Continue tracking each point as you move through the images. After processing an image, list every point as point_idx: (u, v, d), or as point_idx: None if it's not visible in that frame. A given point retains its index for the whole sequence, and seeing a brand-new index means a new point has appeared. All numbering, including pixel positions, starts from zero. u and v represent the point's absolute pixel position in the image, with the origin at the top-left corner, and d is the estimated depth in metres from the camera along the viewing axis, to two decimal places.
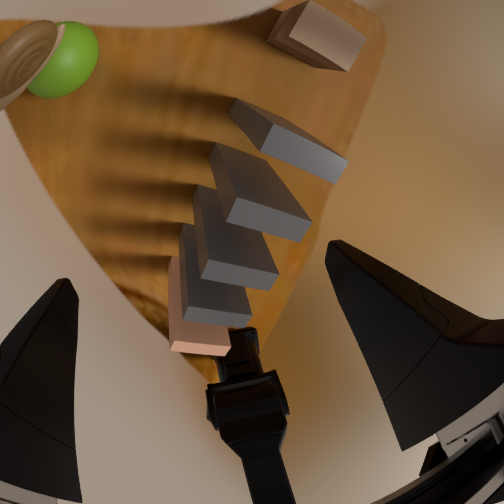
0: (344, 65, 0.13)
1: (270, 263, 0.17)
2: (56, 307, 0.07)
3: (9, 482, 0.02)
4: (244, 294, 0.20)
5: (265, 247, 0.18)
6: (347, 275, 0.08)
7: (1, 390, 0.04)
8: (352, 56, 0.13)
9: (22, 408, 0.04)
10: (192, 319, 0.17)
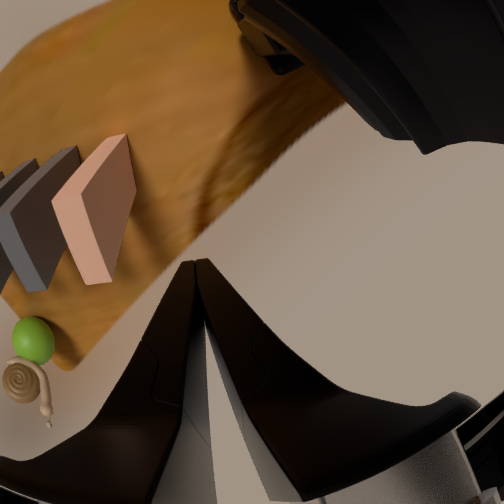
0: None
1: None
2: (198, 290, 0.07)
3: None
4: None
5: None
6: (200, 300, 0.07)
7: (176, 394, 0.04)
8: None
9: (192, 411, 0.05)
10: (38, 281, 0.10)
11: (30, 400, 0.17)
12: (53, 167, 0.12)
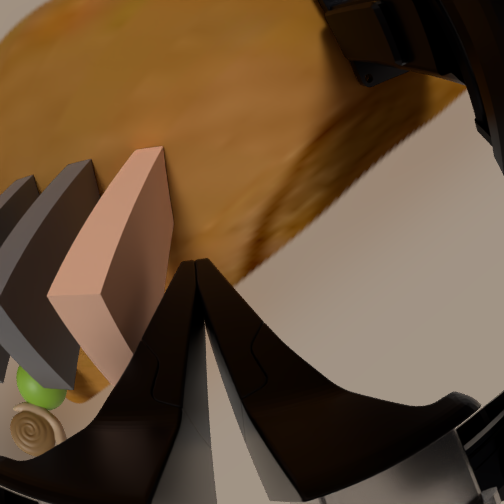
0: None
1: None
2: (197, 290, 0.07)
3: None
4: None
5: None
6: (200, 300, 0.07)
7: (176, 394, 0.04)
8: None
9: (192, 412, 0.05)
10: (60, 381, 0.07)
11: None
12: (60, 198, 0.08)
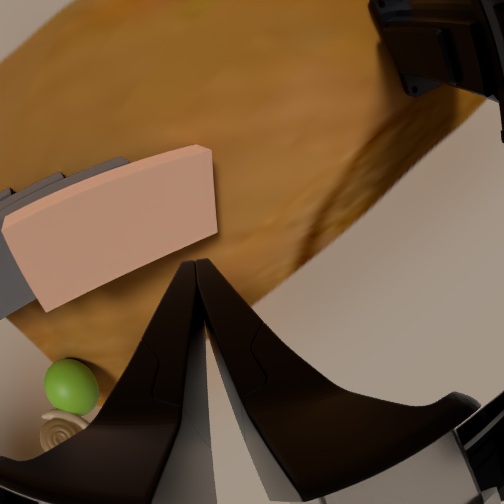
0: None
1: None
2: (198, 290, 0.07)
3: None
4: None
5: None
6: (200, 300, 0.07)
7: (176, 394, 0.04)
8: None
9: (192, 412, 0.05)
10: None
11: None
12: None
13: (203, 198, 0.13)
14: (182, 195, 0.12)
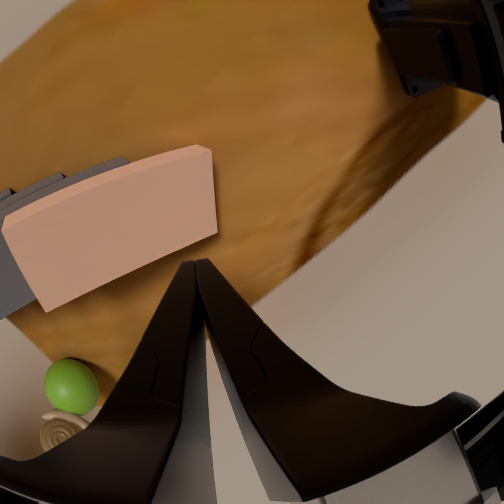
0: None
1: None
2: (197, 290, 0.07)
3: None
4: None
5: None
6: (200, 300, 0.07)
7: (176, 394, 0.04)
8: None
9: (192, 411, 0.05)
10: None
11: None
12: None
13: (203, 198, 0.13)
14: (182, 195, 0.12)
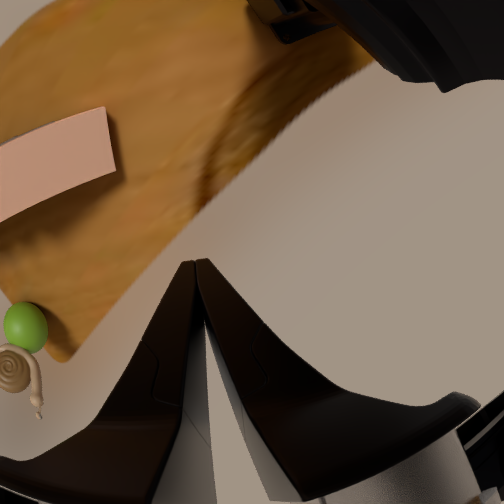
0: None
1: None
2: (198, 290, 0.07)
3: None
4: None
5: None
6: (200, 300, 0.07)
7: (176, 394, 0.04)
8: None
9: (192, 412, 0.05)
10: None
11: (20, 389, 0.16)
12: None
13: (101, 142, 0.15)
14: (84, 140, 0.14)
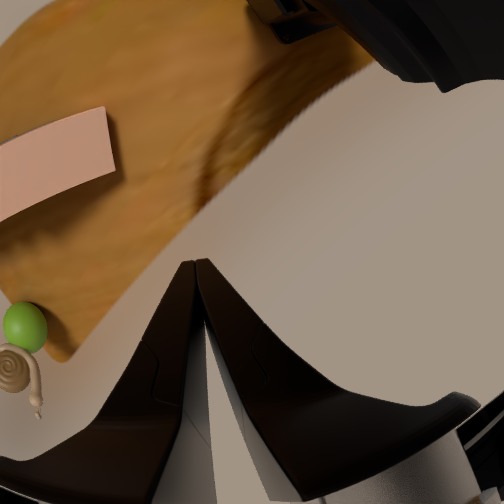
0: None
1: None
2: (197, 290, 0.07)
3: None
4: None
5: None
6: (200, 300, 0.07)
7: (176, 394, 0.04)
8: None
9: (192, 411, 0.05)
10: None
11: (19, 389, 0.15)
12: None
13: (100, 142, 0.15)
14: (84, 140, 0.14)
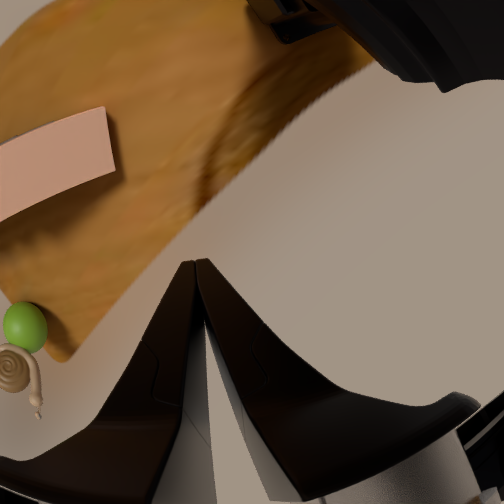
0: None
1: None
2: (197, 290, 0.07)
3: None
4: None
5: None
6: (200, 300, 0.07)
7: (176, 394, 0.04)
8: None
9: (192, 411, 0.05)
10: None
11: (19, 389, 0.15)
12: None
13: (100, 142, 0.15)
14: (84, 140, 0.14)
